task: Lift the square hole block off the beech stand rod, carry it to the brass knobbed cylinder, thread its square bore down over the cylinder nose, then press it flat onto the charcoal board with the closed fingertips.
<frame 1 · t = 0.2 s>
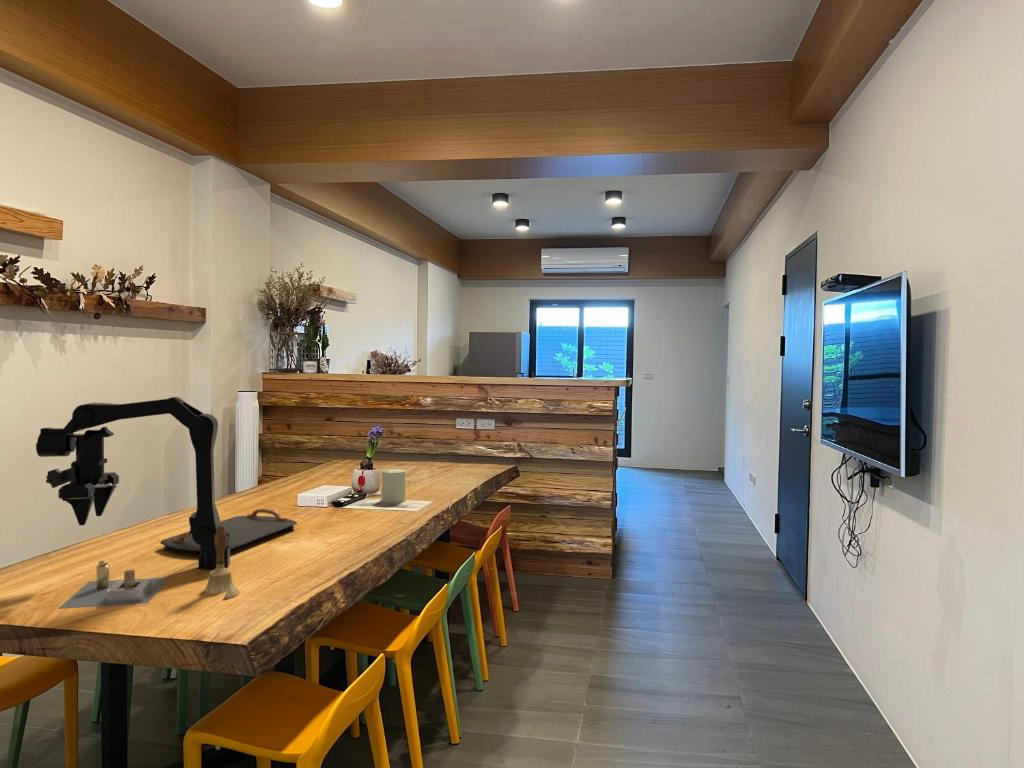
hand: (90, 520, 160), 14 cm above the table, tool pointing down, fingers open, 9 cm apart
hand bell: (219, 595, 152), on the table
square hole block: (129, 596, 146), point 1 cm above the table, touching board
board: (117, 598, 149), on the table
can: (393, 501, 256), on the table
brass knobbed cylinder: (102, 594, 151), resting on board
serving board: (232, 541, 199), on the table
stand rod: (129, 603, 146), resting on board
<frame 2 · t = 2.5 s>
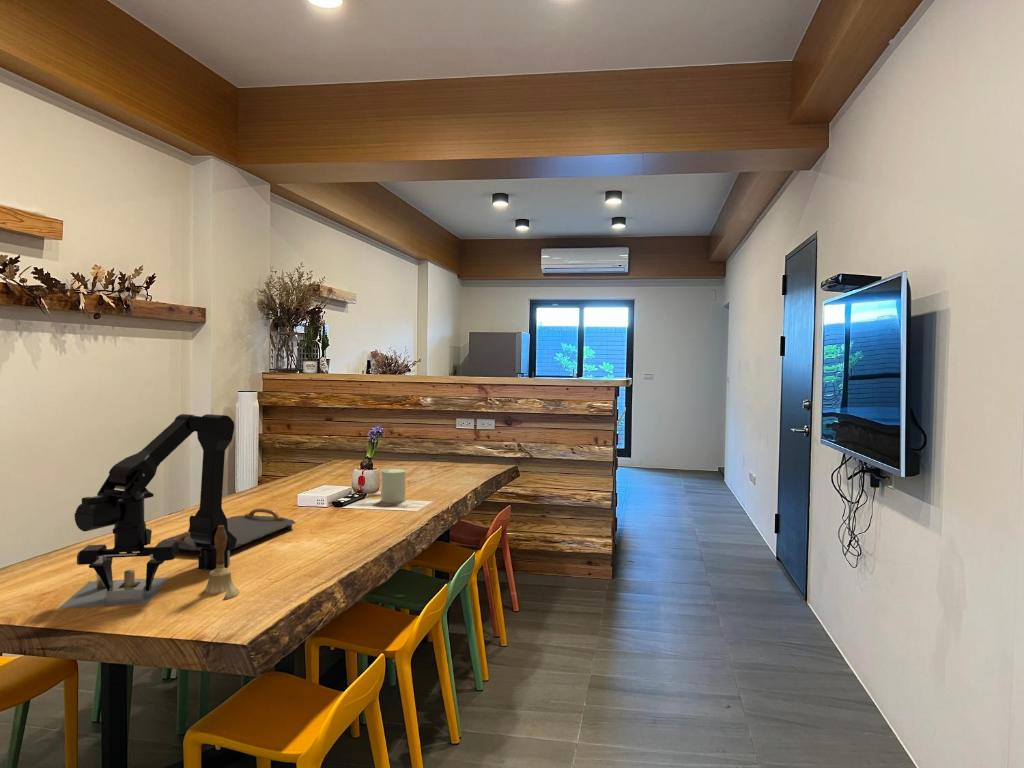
hand: (129, 591, 146), 3 cm above the table, tool pointing down, fingers closed on square hole block, 7 cm apart
square hole block: (129, 596, 146), point 1 cm above the table, touching board, gripper
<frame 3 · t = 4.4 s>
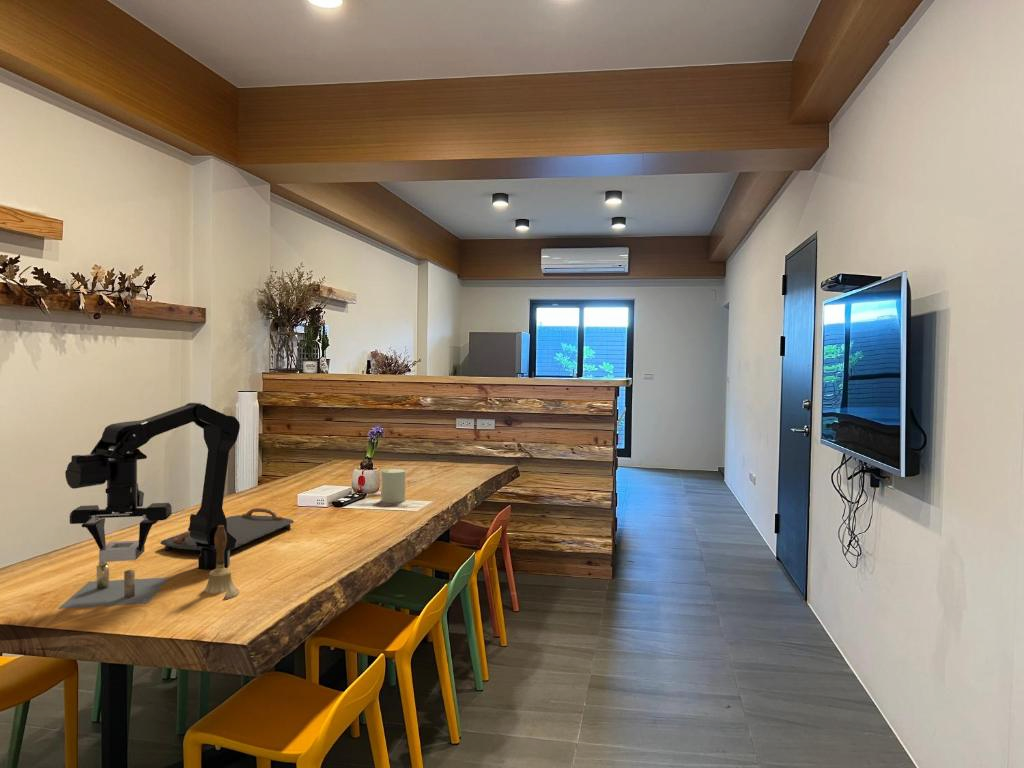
hand: (122, 551, 147), 11 cm above the table, tool pointing down, fingers closed on square hole block, 7 cm apart
square hole block: (122, 556, 147), point 10 cm above the table, touching gripper
when the fingers open (4 cm above the table, at t = 6.6 s): square hole block drops 2 cm, resting on board.
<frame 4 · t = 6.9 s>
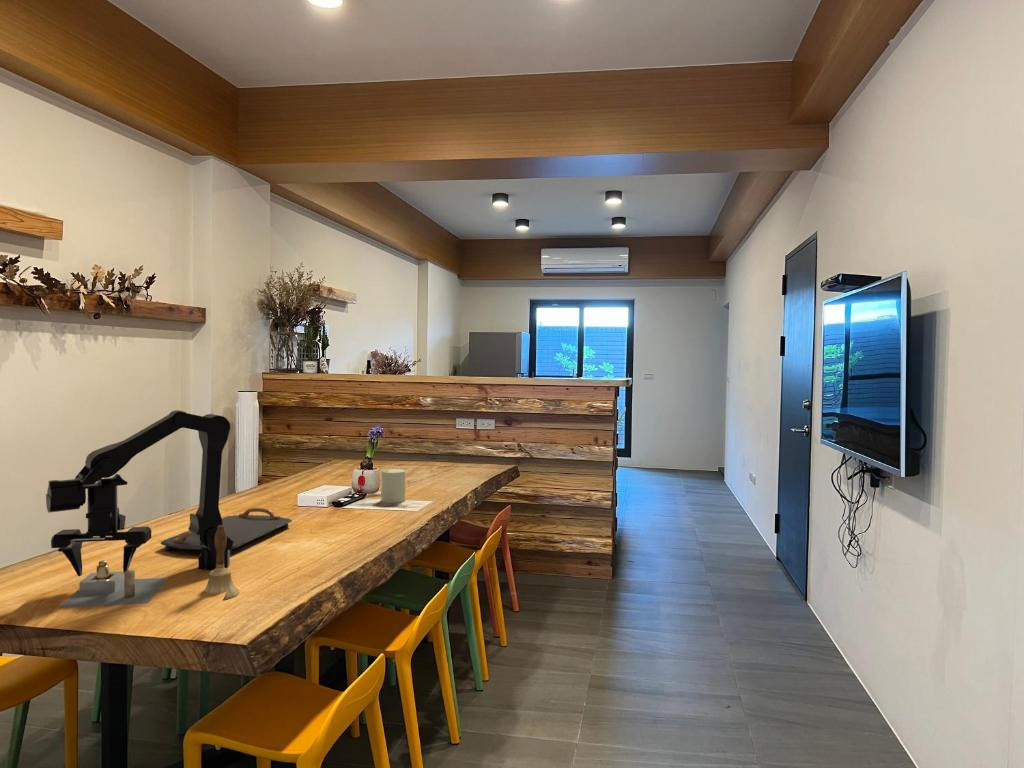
hand: (102, 574, 151), 4 cm above the table, tool pointing down, fingers open, 9 cm apart
square hole block: (103, 587, 151), point 1 cm above the table, touching board
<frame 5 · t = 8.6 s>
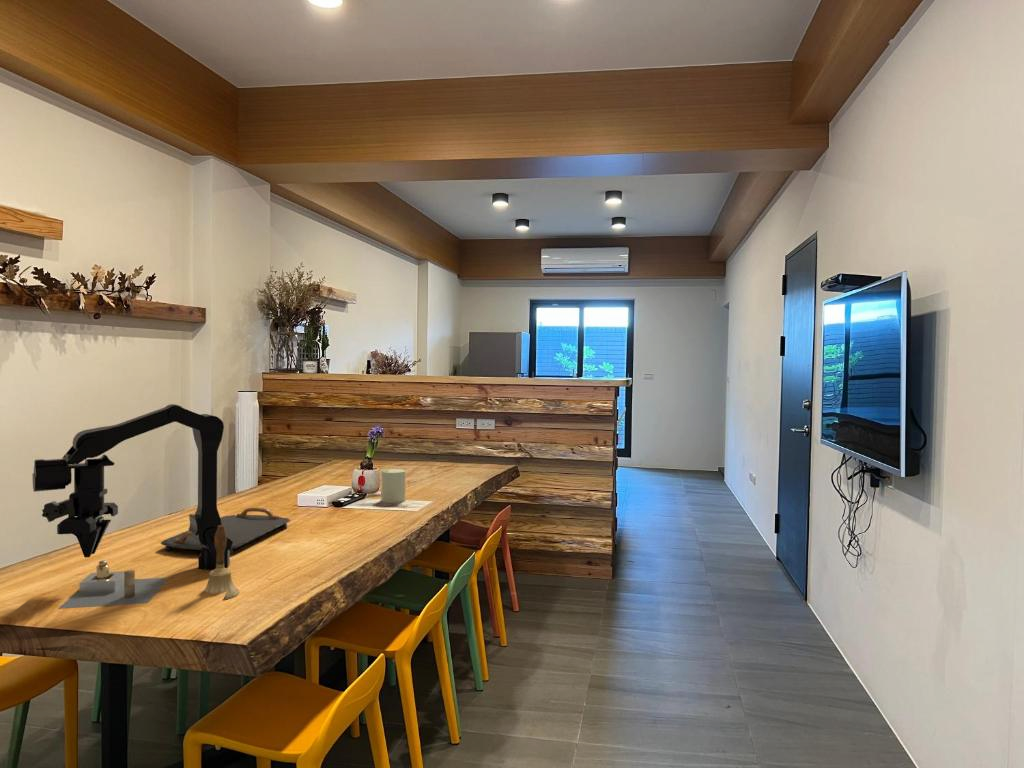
hand: (89, 555, 150), 9 cm above the table, tool pointing down, fingers closed
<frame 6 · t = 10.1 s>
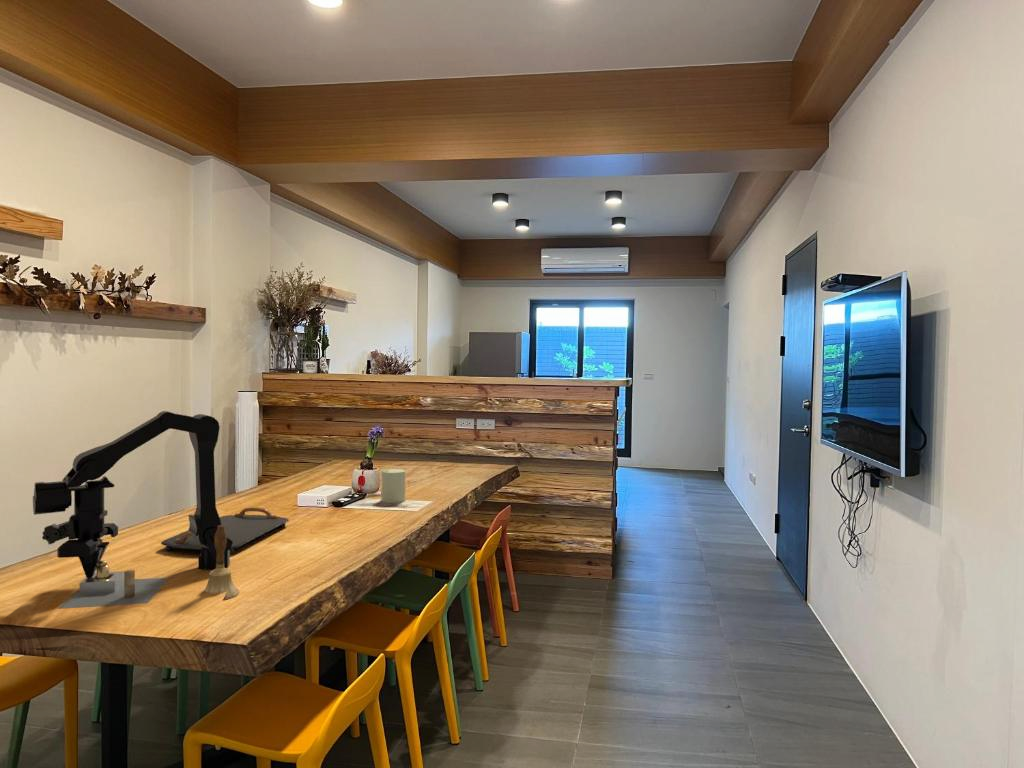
hand: (89, 577, 150), 4 cm above the table, tool pointing down, fingers closed
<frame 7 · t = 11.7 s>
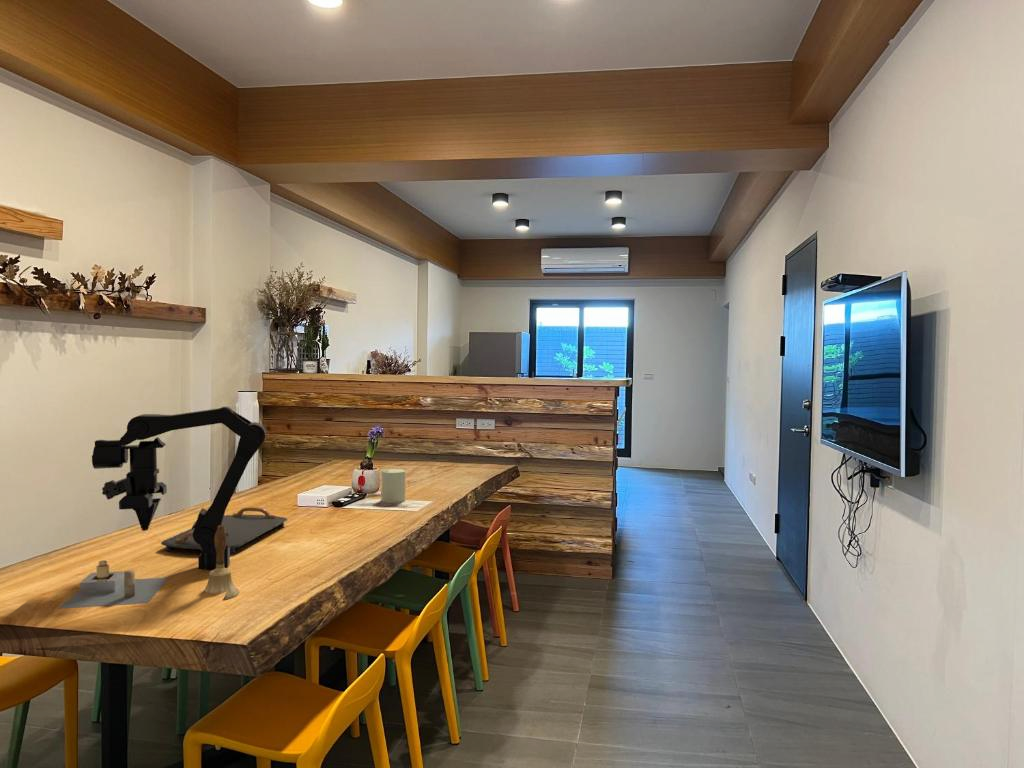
hand: (144, 530, 162), 12 cm above the table, tool pointing down, fingers closed
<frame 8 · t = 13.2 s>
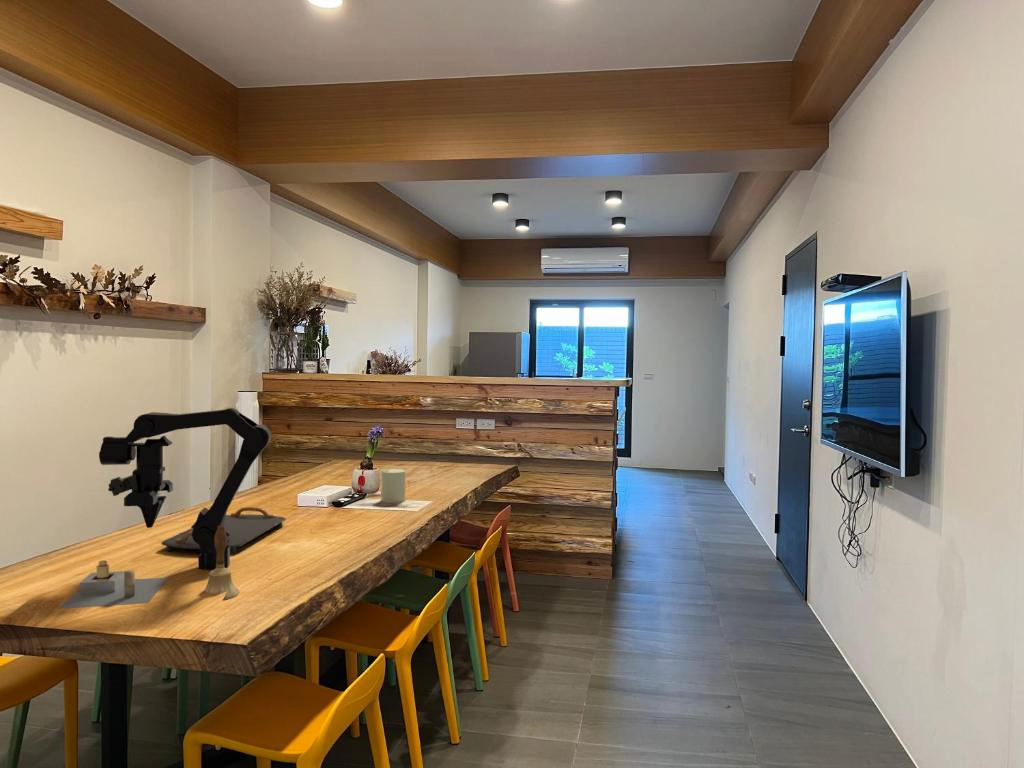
hand: (149, 527, 164), 12 cm above the table, tool pointing down, fingers closed
at the end: square hole block 0.1 cm from the brass knobbed cylinder (horizontally); square hole block point 1.5 cm above the table; square hole block tilted 0° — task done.
